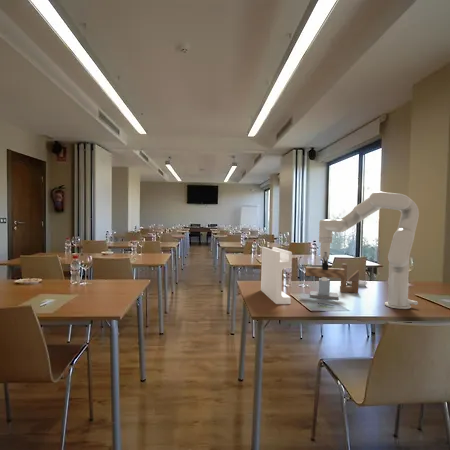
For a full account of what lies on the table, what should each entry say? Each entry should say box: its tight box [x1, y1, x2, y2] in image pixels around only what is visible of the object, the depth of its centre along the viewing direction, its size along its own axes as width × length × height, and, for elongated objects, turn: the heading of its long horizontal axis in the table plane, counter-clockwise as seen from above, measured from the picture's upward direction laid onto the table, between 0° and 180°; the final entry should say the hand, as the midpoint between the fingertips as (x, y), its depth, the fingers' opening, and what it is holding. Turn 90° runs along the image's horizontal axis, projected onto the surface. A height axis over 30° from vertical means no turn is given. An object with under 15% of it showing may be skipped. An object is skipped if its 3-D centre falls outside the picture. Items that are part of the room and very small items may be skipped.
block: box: [260, 246, 293, 305], centre depth 201 cm, size 35×8×28 cm, turn 8°
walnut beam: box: [305, 266, 344, 279], centre depth 205 cm, size 22×4×5 cm, turn 75°
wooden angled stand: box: [339, 263, 360, 294], centre depth 219 cm, size 4×11×18 cm, turn 82°
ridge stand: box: [309, 277, 340, 301], centre depth 205 cm, size 16×12×12 cm
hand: (325, 268), depth 204 cm, fingers open, 9 cm apart
